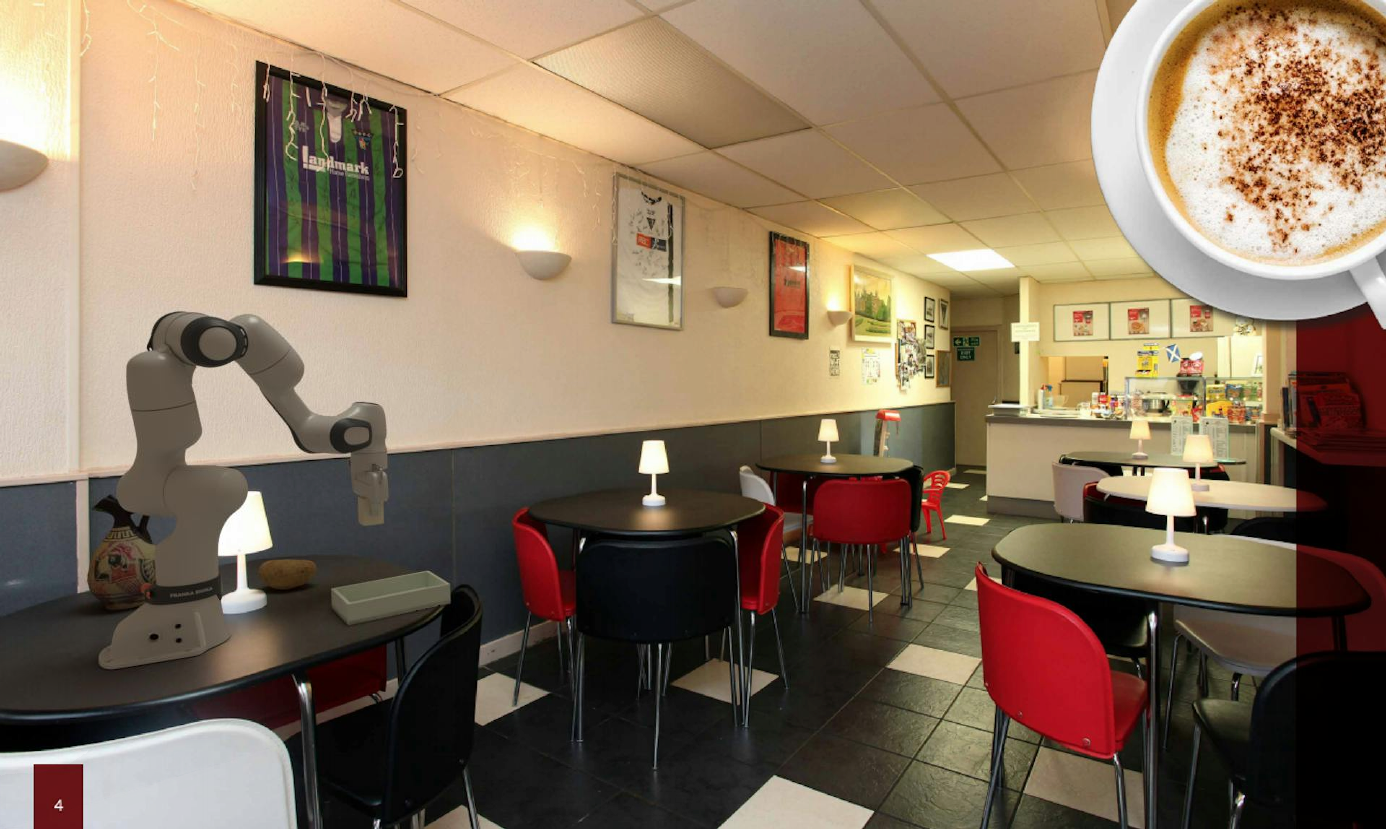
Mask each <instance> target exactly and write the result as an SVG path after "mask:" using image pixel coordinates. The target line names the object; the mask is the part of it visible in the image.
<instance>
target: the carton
mask: <svg viewBox="0 0 1386 829" xmlns="http://www.w3.org/2000/svg"><path fill="white" fill-rule="evenodd" d="M384 506H385V505H384V502H380V507H379V515H378V516H375V517H373V516H371V515H370V509H371V503H370V500H369V499H366V498H364V497H361V496H358V497H357V508H358V509H357V511H358V513H357V514H358V516H357V517H358V524H360V525H361V526H364V527H368V526H374V525H382V524H385V513H384V512H385V511H384V510H385V509H384Z"/></svg>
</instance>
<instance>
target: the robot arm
mask: <svg viewBox="0 0 1386 829" xmlns="http://www.w3.org/2000/svg"><path fill="white" fill-rule="evenodd" d="M232 362H235V363H236V364H237V365H238V366H239V367H240V368H241V369H242V370H243V372H245V374H246V375H247V376H248V377H249V378H250V379H251V380H252V381H253V382H254V383H255V385H256V386H257V387H258V388H259V390H260V393H261V394H262V395H263V397H264V398H265V400H266V401H267V402H268V404H269V405H270V406H271V407H272V408H273V409H274V411H275V412H276V413H277V415H278V416H279V417H280V418H281V419H282V421H283V422H284V423H285V424H286V426H287V427H288V429H289V431H290V433H291V436H292V439H293V441H294V444H295V445H296V446H297V448H298V449H299V450H300V451H302V452H304V453H306V454H312V455H313V454H314V455H315V454H329V455H330V454H333V455H347V454H350V458H349V459H348V460H347V464H348V468H350V477H351V478H350V479H351V487H352V491H353V493H354V494H356V495H358V496H359V497H364V498H366V499H369V500H370V503H371V509H370V515H371V516H373V517H375V516H378V515H379V507H380V502H383V503H384V502H388V500H389V497H390V496H389V492H390V491H389V484H388V482H389V481H388V476H387V473H386V472H385V471H383V470H386V469H388V468H389V466H388V448H387V445H386V439H387V433H388V432H387V431H388V430H387V419H386V417H387V416H386V413H385V410H384V407H383V406H382V405H380V404H378V403H376V402H366V401H355V402H353V403H352V404H351V406H349V408H347V409H346V410H344V411H342V412H341V413H339V414H336V415H334V416H333V415H332V416H331V415H322V414H318V413H315V412H313V411H312V410H310V409H309V407H308V406H307V405H306V403H305V402H304V401H303V399H302V398H301V396H299V394H298V393H297V392H296V390H295V387H296V386H297V385H298V384H299V383H300V382H301V380H302V379H303V377H304V374H305V364H304V362H303V360H302V358H301V357H300V355H299V354H298V352H297V351H296V350H295V349H294V348H293V346H292V345H291V344H290V343H289V342H288V341H287V340H286V339H285V338H284V337H283V335H282V334H281V333H279V331H277V330H276V329H275V328H274V327H273V326H272V325H271V324H269V322H267V321H266V320H264V319H263V318H261V317H260V316H259V315H256V314H253V313H243V314H240V315H237V316H234V317H233V318H230V319H229V320H227V319H223V318H220V317H217V316H210V315H208V314H205V313H201V312H195V311H184V310H182V311H181V310H180V311H179V310H178V311H177V310H176V311H173V312H169V313H166V314H163V315H162V316H161V317H159V318H158V319H157V320H156V321H155V323H154V324H153V326H152V329H151V332H150V337H149V340H148V342H147V344H146V351H143V352H140V353H137V354H136V355H134V356H132V357H131V358H130V359H129V360H128V361H127V364H126V366H125V367H126V368H125V380H126V381H125V386H126V393H127V399H128V405H129V410H130V414H131V418H132V421H133V427H134V432H135V437H136V455H135V458H134V461H133V464H132V465H131V467H130V468H129V469H128V470H127V471H126V472H125V473H124V474H123V475H122V476H121V477H120V479H119V480H118V482H117V485H116V490H115V492H116V496H115V497H116V499H117V500H118V502H119V504H120V505H121V507H122V508H123V509H125V510H127V511H129V512H133V513H135V514H139V515H142V516H143V515H147V516H150V517H176V526H175V528H174V531H173V533H172V534H170V535H168V536H166V537H165V538H163V539H162V540H161V541H159V543H157V545H156V549H155V552H154V553H155V573H156V582H155V583H154V584H151V583H145V584H143V586H141V591H142V593H144V598H145V603H144V604H143V605H141V606H138V608H136V609H135V610H134V611H133V612H132V613H130V614H129V615H128V616H126V617H125V618H123V619H122V620H121V621H120V622H119V623H118V624H117V625H116V628H115V630H114V631H113V633H112V634H113V635H112V639H111V644H110V645H108V646H106V647H105V648H103V649H102V650H101V651H100V652H99V655H98V665H99V666H100V667H101V668H102V669H106V670H115V669H122V668H123V669H125V668H128V667H135V666H140V665H147V664H153V663H158V662H166V661H172V660H179V659H184V658H190V657H194V656H199V655H201V654H203V653H205V652H206V651H208V650H209V649H212V648H214V647H217V646H219V645H221V644H223V643H225V642H226V641H227V640H229V639H230V637H231V632H230V630H229V628H228V625H227V622H226V618H225V614H224V609H223V605H222V599H223V592H224V591H223V578H222V576H221V573H220V571H219V543H220V542H219V541H220V539H221V538H220V537H221V535H222V531H223V529H224V526H226V523H227V521H228V520H229V518H230V517H231V516H232V515H234V513H236V512H237V511H239V509H241V508H242V506H243V505H244V504H245V502H246V501H247V497H248V494H249V485H248V481H247V479H246V477H245V476H244V474H243V473H242V472H241V471H240V470H238V469H234V468H230V467H227V466H220V465H216V464H215V465H214V464H213V465H211V464H209V465H208V464H205V465H203V464H202V465H201V464H197V465H196V464H194V465H193V464H192V465H191V464H189V465H188V464H187V463H186V452H187V450H188V449H189V448H191V447H192V446H194V445H195V444H196V443H197V442H198V441H199V440H200V439H201V437H202V434H203V427H202V422H201V418H200V413H199V408H198V404H197V400H196V399H197V398H196V395H195V391H194V388H193V377H194V373H195V370H196V369H197V367H201V368H207V369H208V368H209V369H213V368H219V367H223V366H226V365H228V364H230V363H232ZM150 584H151V585H150Z"/></svg>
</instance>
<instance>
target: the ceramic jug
mask: <svg viewBox="0 0 1386 829" xmlns="http://www.w3.org/2000/svg"><path fill="white" fill-rule="evenodd" d="M90 510H91V511H95V512H100V513H105V514H109V515H110V516H112V517H113V519H114V520H113V526H112V527H111V529H110V531H109V532H107V534H106V536H104V538H103V540H101V543H100V544H99V545H98V547H97V549H96V551H95V552H94V553H93V556H92V558H91V561H90V563H89V567H88V572H87V575H86V576H87V577H86V578H87V579H86V581H87V587H88V589H89V591H90V593H91V594H92V595H93V597H94V598H96V599H97V600H99V601H100V602H101V603H102V604H104V605H105V609H106V610H108V611H109V610H110V611H118V610H128V608H129V609H133V608H136V607H140V606H142V605H143V604H144V603H145V598H144V593H142V591H141V586H143V584H145V583H151V584H154V583H155V582H156V573H155V553H154V552H155V549H156V547H157V545H156V544H154V542H153V540H152V537H151V534H150V532H149V530H148V528H147V527H148V523H149V520H150V517H151V516H147V515H142V517H141V518H140V521H139V525H138V526H137V525H136V523H135V522H134V520H133V519H132V516H131V515H135V514H136V513H133V512H129V511H127V510H125V509H123V508H122V507H121V505H120V504H119V502H118V500H117V497H116V496H114V495H113V494H108V495H107V496H106V497H103V498H101V499H100V500H99V501H98V502H97V503H96V504H95V505H94V506H92V507H91V508H90ZM151 584H150V585H151Z"/></svg>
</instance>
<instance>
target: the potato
mask: <svg viewBox="0 0 1386 829" xmlns="http://www.w3.org/2000/svg"><path fill="white" fill-rule="evenodd" d="M257 572H258V576H259V579H260V580H261V582H262V583H263V584H264V585H265V586H268V587H270V588H272V589H275V590H280V591H281V590H282V591H284V590H287V591H288V590H291V589H294V588H297V587H302V586H304V585H305V584H307V583H308V582H309V581H310V580H311V579H312V578H313V577H314V576H315V575H316V572H317V565H316V563H315V562H313V561H312V560H308V559H292V558H291V559H290V558H289V559H288V558H287V559H286V558H285V559H272V560H271V559H270V560H266V561H265V562H262V564H260V566H259V568H258V570H257Z"/></svg>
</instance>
